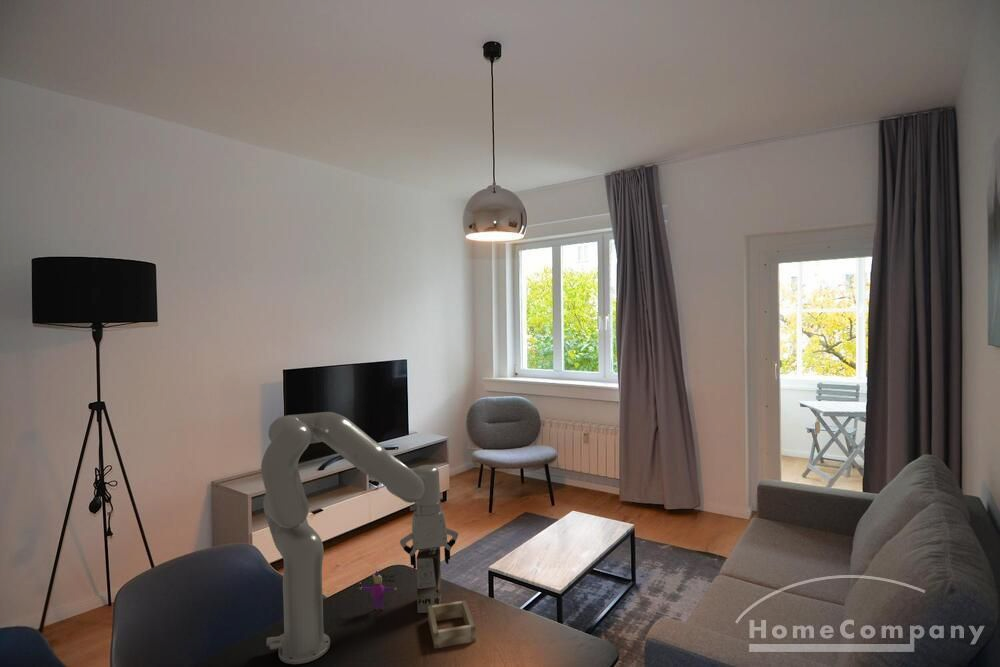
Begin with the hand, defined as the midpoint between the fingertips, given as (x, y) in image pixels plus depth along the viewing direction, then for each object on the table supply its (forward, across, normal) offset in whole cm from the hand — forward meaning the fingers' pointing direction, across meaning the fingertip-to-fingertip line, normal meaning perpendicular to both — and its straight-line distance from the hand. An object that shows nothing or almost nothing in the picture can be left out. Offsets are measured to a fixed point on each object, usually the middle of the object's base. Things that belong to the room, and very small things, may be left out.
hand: (430, 564), depth 160 cm
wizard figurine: (+12, -16, +1) cm, 20 cm away
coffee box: (+12, -1, 0) cm, 12 cm away
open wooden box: (+12, +3, -15) cm, 20 cm away
